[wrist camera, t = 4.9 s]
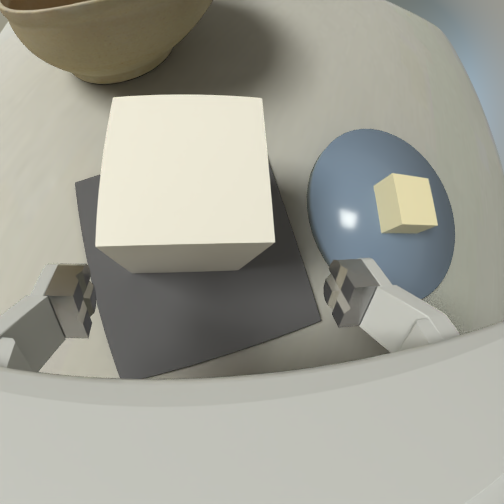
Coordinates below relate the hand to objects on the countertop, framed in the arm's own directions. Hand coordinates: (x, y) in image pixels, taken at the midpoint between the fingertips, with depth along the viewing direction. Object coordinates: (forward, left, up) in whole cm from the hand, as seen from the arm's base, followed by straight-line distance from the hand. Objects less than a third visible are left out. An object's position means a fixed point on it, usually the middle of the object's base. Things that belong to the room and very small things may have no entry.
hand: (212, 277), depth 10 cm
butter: (+1, -15, -9) cm, 18 cm away
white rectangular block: (+4, 0, -9) cm, 10 cm away
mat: (+2, 0, -9) cm, 9 cm away
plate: (+1, -15, -9) cm, 18 cm away
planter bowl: (+21, +2, -9) cm, 23 cm away
